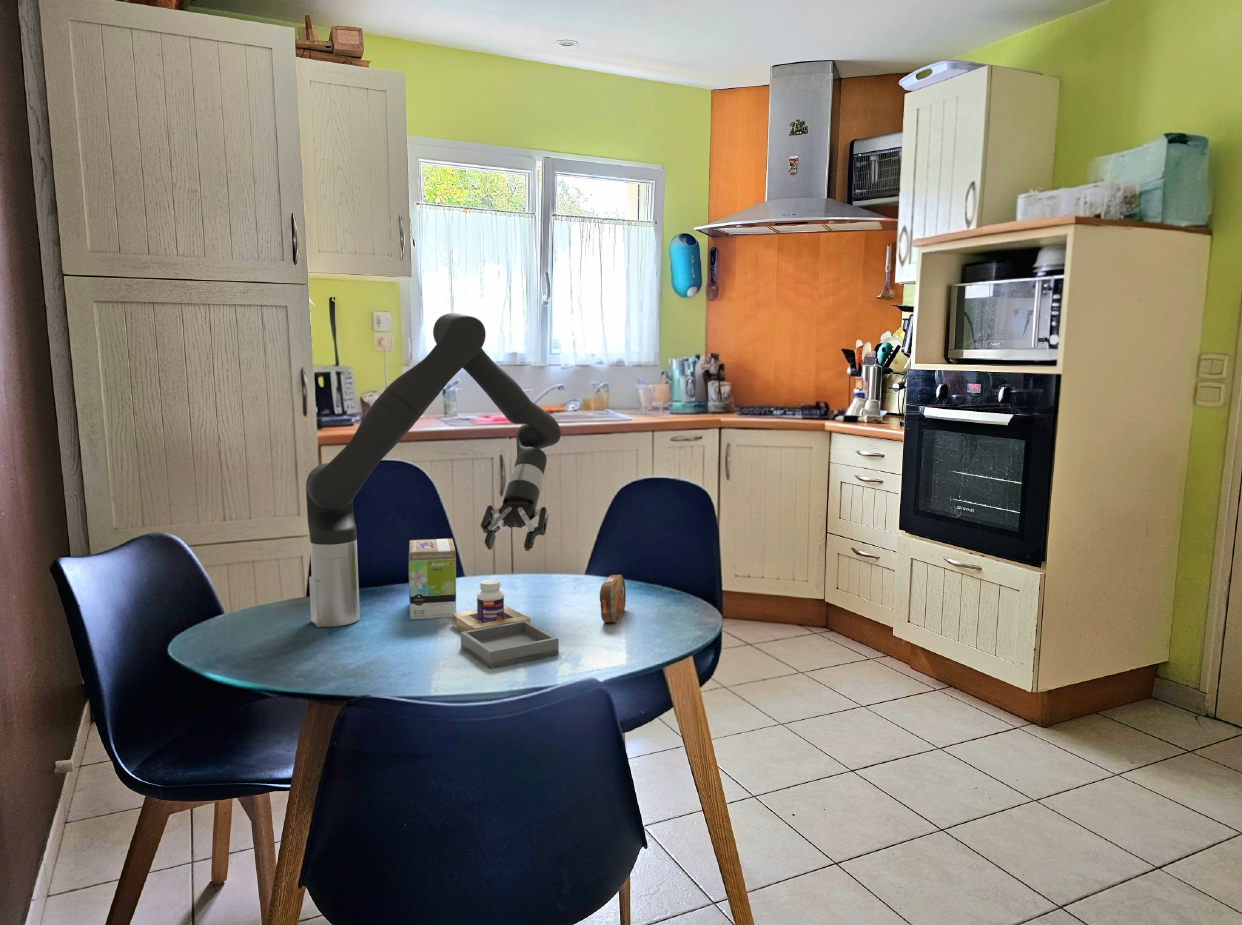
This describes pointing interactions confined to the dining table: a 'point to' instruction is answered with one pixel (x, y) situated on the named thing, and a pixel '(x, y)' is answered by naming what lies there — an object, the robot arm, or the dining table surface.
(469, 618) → the oak collar
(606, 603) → the tin
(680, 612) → the dining table surface
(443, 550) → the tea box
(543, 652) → the charcoal tray
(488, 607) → the pill bottle
